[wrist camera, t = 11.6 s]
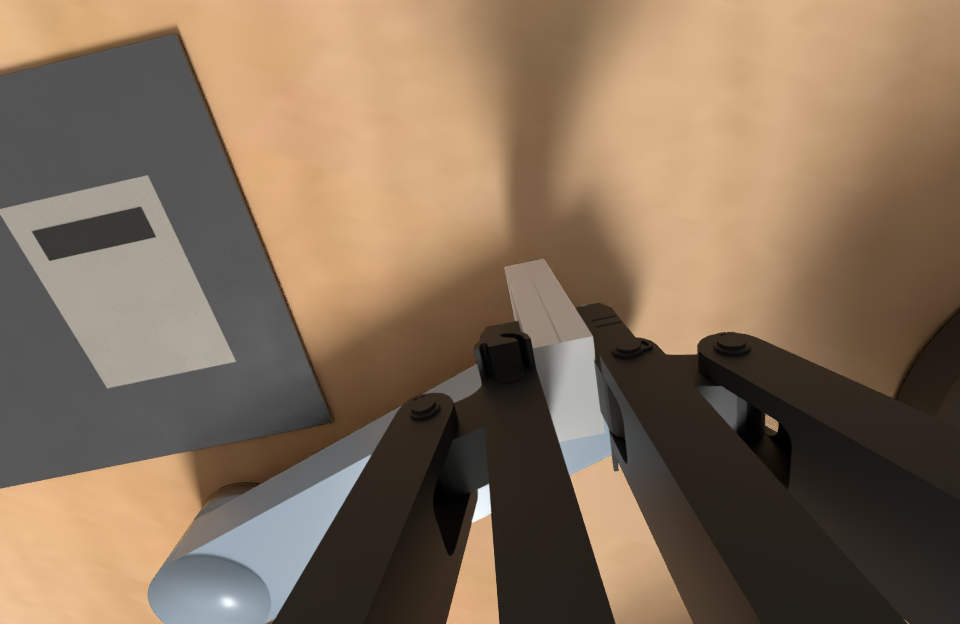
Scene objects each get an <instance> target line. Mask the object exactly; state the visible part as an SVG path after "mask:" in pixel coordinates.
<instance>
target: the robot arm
mask: <svg viewBox="0 0 960 624" xmlns="http://www.w3.org/2000/svg"><path fill="white" fill-rule="evenodd" d="M504 268H505V273H506V279H507V284H508V289H509V294H510V299H511V304H512V309H513V314H514V319H515V322H510V323H505V324H500V325H495V326H490V327H486V329H485V330H484V331H483V333H482V334H481V336H480V337H481V340H480V341H479V342H478V343H477V344H476V345H475V348H474V353H475V357H476V361H477V365H478V370H479V374H480V378H481V387H480V388H479V389H478V390H477V391H476V392H475V393H473V394H472V395H470V396H468V397H466V398H464V399H462V400H460V401H457V402H455V403H454V402H453V400H452V399H451V397H450V396H448V395H446V394H444V393H428V394H422V395H419V396H416V397H414V398H412V399H411V400H409V401H408V402H406V403H405V404H403V405H402V406H401V408H400V409H399V410H398V411H397V413H396V414H395V416H394V418H393V419H392V421H391V423H390V425H389V426H388V428H387V430H386V431H385V433H384V435H383V436H382V438H381V440H380V441H379V443H378V445H377V447H376V448H375V450H374V452H373V453H372V455H371V457H370V458H369V460H368V462H367V464H366V465H365V467H364V469H363V470H362V472H361V474H360V475H359V477H358V479H357V481H356V482H355V484H354V486H353V487H352V489H351V491H350V492H349V494H348V496H347V497H346V499H345V501H344V503H343V504H342V506H341V508H340V509H339V511H338V513H337V514H336V516H335V518H334V520H333V521H332V523H331V525H330V526H329V528H328V530H327V531H326V533H325V535H324V536H323V538H322V540H321V542H320V543H319V545H318V547H317V548H316V550H315V552H314V553H313V555H312V557H311V559H310V560H309V562H308V564H307V565H306V567H305V569H304V570H303V572H302V574H301V575H300V577H299V579H298V581H297V582H296V584H295V586H294V587H293V589H292V591H291V592H290V594H289V596H288V598H287V599H286V601H285V603H284V604H283V606H282V608H281V609H280V611H279V613H278V614H277V616H276V618H275V620H274V621H273V623H272V624H446V622H447V618H448V614H449V610H450V606H451V602H452V598H453V594H454V590H455V586H456V583H457V579H458V575H459V571H460V567H461V563H462V559H463V555H464V551H465V547H466V543H467V540H468V536H469V532H470V528H471V524H472V520H473V516H474V512H475V508H476V504H477V500H478V489H480V488H482V487H484V486H486V485H488V484H489V491H490V504H491V517H492V531H493V544H494V557H495V570H496V583H497V597H498V610H499V623H500V624H615V621H614V617H613V614H612V611H611V608H610V605H609V601H608V598H607V595H606V592H605V588H604V585H603V582H602V579H601V576H600V572H599V569H598V566H597V563H596V559H595V556H594V553H593V550H592V547H591V543H590V540H589V537H588V534H587V530H586V527H585V524H584V521H583V518H582V514H581V511H580V508H579V505H578V501H577V498H576V495H575V492H574V488H573V485H572V482H571V479H570V476H569V472H568V469H567V466H566V463H565V459H564V456H563V453H562V450H561V447H560V443H559V442H562V441H567V440H572V439H578V438H583V437H588V436H593V435H598V434H604V433H605V429H604V421H603V417H604V420H605V422H606V424H607V426H608V428H609V435H610V444H611V452H612V460H613V468H614V471H619V469H618V463H619V465H620V467H621V469H622V471H623V473H624V475H625V477H626V480H627V482H628V484H629V486H630V488H631V490H632V493H633V495H634V497H635V499H636V501H637V503H638V505H639V508H640V510H641V512H642V514H643V516H644V518H645V520H646V523H647V525H648V527H649V529H650V531H651V533H652V535H653V538H654V540H655V542H656V544H657V546H658V548H659V550H660V553H661V555H662V557H663V559H664V561H665V563H666V565H667V568H668V570H669V572H670V574H671V576H672V578H673V581H674V583H675V585H676V587H677V589H678V591H679V593H680V596H681V598H682V600H683V602H684V604H685V606H686V608H687V611H688V613H689V615H690V617H691V619H692V621H693V623H694V624H908V623H909V624H960V312H959V313H958V314H957V315H955V316H954V317H953V318H952V319H951V320H950V321H949V322H948V323H947V324H946V325H945V326H944V327H943V329H942V330H941V331H940V332H939V333H938V334H937V335H936V336H935V337H934V339H933V340H932V341H931V342H930V344H929V345H928V346H927V347H926V349H925V350H924V351H923V353H922V354H921V355H920V357H919V358H918V360H917V361H916V363H915V364H914V366H913V367H912V369H911V371H910V373H909V374H908V376H907V378H906V380H905V382H904V384H903V386H902V388H901V391H900V393H899V396H898V398H897V400H895V399H893V398H891V397H888V396H886V395H884V394H882V393H879V392H877V391H875V390H873V389H871V388H868V387H866V386H864V385H862V384H859V383H857V382H855V381H853V380H850V379H848V378H846V377H844V376H841V375H839V374H837V373H835V372H833V371H830V370H828V369H826V368H824V367H821V366H819V365H817V364H815V363H812V362H810V361H808V360H806V359H803V358H801V357H799V356H797V355H795V354H792V353H790V352H788V351H786V350H783V349H781V348H779V347H777V346H774V345H772V344H770V343H768V342H766V341H763V340H761V339H759V338H756V337H753V336H750V335H747V334H740V333H735V332H727V333H726V332H723V333H718V334H714V335H710V336H707V337H705V338H703V339H702V340H701V341H700V342H699V343H698V345H697V351H698V354H697V355H667V354H665V353H664V352H663V351H662V350H661V349H660V348H659V346H658V345H656V344H655V343H654V342H652V341H650V340H647V339H643V338H636V337H635V336H634V335H633V334H632V333H631V331H630V330H629V329H628V328H627V327H626V325H625V324H624V323H622V321H621V319H620V318H619V317H617V314H616V313H615V312H614V311H613V310H612V308H610V307H608V306H605V305H603V304H600V303H596V304H591V305H586V306H581V307H576V308H575V307H574V305H573V304H572V302H571V301H570V299H569V297H568V296H567V294H566V293H565V291H564V289H563V288H562V286H561V285H560V283H559V282H558V280H557V278H556V277H555V275H554V274H553V272H552V270H551V269H550V267H549V266H548V264H547V262H546V261H545V259H544V258H543V259H539V260H534V261H529V262H525V263H520V264H515V265H510V266H506V267H504ZM765 413H766V414H767V415H769V416H770V417H772V418H774V419H775V420H776V421H778V422H779V426H778V432H776V431H774V430H772V429H770V428H768V427H767V426H765ZM905 620H906V621H907V622H908V623H907V622H906V621H905Z"/></svg>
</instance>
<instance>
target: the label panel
mask: <svg viewBox="0 0 960 624" xmlns="http://www.w3.org/2000/svg"><path fill="white" fill-rule="evenodd" d="M328 423H333V417H332V415H331V412H330V410H329V407H328V405H327V403H326V400H325V398H324V395H323V393H322V390H321V388H320V385H319V383H318V380H317V378H316V375H315V373H314V370H313V368H312V365H311V363H310V360H309V358H308V355H307V353H306V350H305V348H304V345H303V343H302V340H301V338H300V335H299V333H298V331H297V328H296V326H295V323H294V321H293V318H292V316H291V313H290V311H289V308H288V306H287V303H286V301H285V298H284V296H283V293H282V291H281V288H280V286H279V283H278V281H277V278H276V276H275V273H274V271H273V268H272V266H271V263H270V261H269V258H268V256H267V254H266V251H265V249H264V246H263V244H262V241H261V239H260V236H259V234H258V231H257V229H256V226H255V224H254V221H253V219H252V216H251V214H250V211H249V209H248V206H247V204H246V201H245V199H244V196H243V194H242V191H241V189H240V186H239V184H238V181H237V179H236V177H235V174H234V172H233V169H232V167H231V164H230V162H229V159H228V157H227V154H226V152H225V149H224V147H223V144H222V142H221V139H220V137H219V134H218V132H217V129H216V127H215V124H214V122H213V119H212V117H211V114H210V112H209V109H208V107H207V105H206V102H205V100H204V97H203V95H202V92H201V90H200V87H199V85H198V82H197V80H196V77H195V75H194V72H193V70H192V67H191V65H190V62H189V60H188V57H187V55H186V52H185V50H184V47H183V45H182V42H181V40H180V37H179V35H178V34H171V35H167V36H163V37H159V38H154V39H150V40H146V41H142V42H138V43H134V44H130V45H126V46H122V47H118V48H114V49H109V50H105V51H101V52H97V53H93V54H89V55H85V56H81V57H77V58H73V59H68V60H64V61H60V62H56V63H52V64H48V65H44V66H40V67H36V68H32V69H28V70H23V71H19V72H15V73H11V74H7V75H3V76H0V488H5V487H10V486H15V485H20V484H25V483H30V482H35V481H41V480H46V479H51V478H56V477H61V476H66V475H71V474H76V473H81V472H86V471H91V470H96V469H101V468H106V467H111V466H116V465H121V464H126V463H131V462H136V461H142V460H147V459H152V458H157V457H162V456H167V455H172V454H177V453H182V452H187V451H192V450H197V449H202V448H207V447H212V446H217V445H222V444H227V443H232V442H237V441H242V440H248V439H253V438H258V437H263V436H268V435H273V434H278V433H283V432H288V431H293V430H298V429H303V428H308V427H313V426H318V425H323V424H328Z"/></svg>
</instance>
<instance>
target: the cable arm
mask: <svg viewBox="0 0 960 624" xmlns="http://www.w3.org/2000/svg"><path fill="white" fill-rule="evenodd" d="M581 306H586V305H585V304H583V305H581ZM581 306H579V307H581ZM480 387H481V378H480V374H479V370H478V365H477V364H475V365H474V366H472V367H470V368H468V369H466V370H465V371H463V372H461V373H459V374H457V375H456V376H454V377H452V378H450V379H448V380H447V381H445V382H443V383H441V384H439V385H438V386H436V387H434V388H432V389H430V390H429V391H427V392H425V393H423V394H428V393H444V394H446V395H448V396H450V397H451V399H452V400H453V402H454V403H455V402H457V401H460V400H462V399H464V398H466V397H468V396H470V395H472V394H473V393H475V392H476V391H477V390H478V389H479V388H480ZM421 395H422V394H421ZM400 408H401V406H400V407H398V408H396V409H395V410H393V411H391V412H389V413H387V414H386V415H384V416H382V417H380V418H378V419H377V420H375V421H373V422H371V423H369V424H368V425H366V426H364V427H362V428H360V429H359V430H357V431H355V432H353V433H351V434H350V435H348V436H346V437H344V438H342V439H341V440H339V441H337V442H335V443H333V444H332V445H330V446H328V447H326V448H325V449H323V450H321V451H319V452H317V453H316V454H314V455H312V456H310V457H308V458H307V459H305V460H303V461H301V462H299V463H298V464H296V465H294V466H292V467H290V468H289V469H287V470H285V471H283V472H281V473H280V474H278V475H276V476H274V477H272V478H271V479H269V480H267V481H265V482H263V483H262V484H260V485H258V486H256V487H254V488H253V489H251V490H249V491H247V492H246V493H244V494H242V495H240V496H238V497H237V498H235V499H233V500H231V501H229V502H228V503H226V504H224V505H222V506H220V507H219V508H217V509H215V510H212V511H209V512H206V513H204V514H202V515H201V516H199V517H198V518H196V519H195V520H194V521H193V522H192V524H191V525H190V526H189V528H188V529H187V531H186V532H185V533H184V535H183V536H182V538H181V539H180V541H179V542H178V544H177V545H176V546H175V548H174V549H173V551H172V552H171V554H170V555H169V557H168V558H167V559H166V561H165V562H164V564H163V565H162V567H161V568H160V570H159V571H158V572H157V574H156V575H155V577H154V578H153V580H152V581H151V583H150V585H149V589H148V601H149V604H150V606H151V608H152V610H153V612H154V613H155V614H156V616H157V617H158V618H159V619H160V620H161V621H162V622H164V623H165V624H265V623H267V622H269V621H272V620H274V619H275V618H276V616H277V614H278V613H279V611H280V609H281V608H282V606H283V604H284V603H285V601H286V599H287V598H288V596H289V594H290V592H291V591H292V589H293V587H294V586H295V584H296V582H297V581H298V579H299V577H300V575H301V574H302V572H303V570H304V569H305V567H306V565H307V564H308V562H309V560H310V559H311V557H312V555H313V553H314V552H315V550H316V548H317V547H318V545H319V543H320V542H321V540H322V538H323V536H324V535H325V533H326V531H327V530H328V528H329V526H330V525H331V523H332V521H333V520H334V518H335V516H336V514H337V513H338V511H339V509H340V508H341V506H342V504H343V503H344V501H345V499H346V497H347V496H348V494H349V492H350V491H351V489H352V487H353V486H354V484H355V482H356V481H357V479H358V477H359V475H360V474H361V472H362V470H363V469H364V467H365V465H366V464H367V462H368V460H369V458H370V457H371V455H372V453H373V452H374V450H375V448H376V447H377V445H378V443H379V441H380V440H381V438H382V436H383V435H384V433H385V431H386V430H387V428H388V426H389V425H390V423H391V421H392V419H393V418H394V416H395V414H396V413H397V411H398V410H399V409H400ZM603 421H604V429H605V433H604V434H598V435H593V436H588V437H583V438H578V439H572V440H567V441H562V442H559V443H560V447H561V450H562V453H563V456H564V459H565V463H566V466H567V469H568V472H569V475H571V474H573V473H575V472H577V471H579V470H581V469H584V468H586V467H588V466H590V465H592V464H594V463H596V462H598V461H600V460H602V459H604V458H606V457H608V456H610V455H612V452H611V444H610V435H609V428H608V426H607V424H606V422H605V420H604V417H603ZM489 514H491V504H490V491H489V484H488V485H486V486H484V487H482V488H480V489H478V500H477V504H476V508H475V512H474V516H473V520H472V523H473V522H475V521H477V520H479V519H481V518H483V517H485V516H487V515H489Z"/></svg>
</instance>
